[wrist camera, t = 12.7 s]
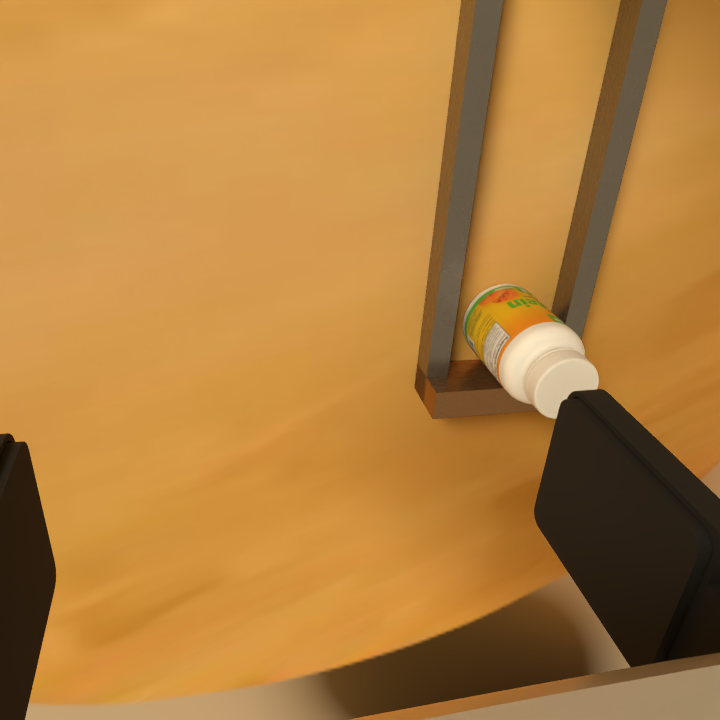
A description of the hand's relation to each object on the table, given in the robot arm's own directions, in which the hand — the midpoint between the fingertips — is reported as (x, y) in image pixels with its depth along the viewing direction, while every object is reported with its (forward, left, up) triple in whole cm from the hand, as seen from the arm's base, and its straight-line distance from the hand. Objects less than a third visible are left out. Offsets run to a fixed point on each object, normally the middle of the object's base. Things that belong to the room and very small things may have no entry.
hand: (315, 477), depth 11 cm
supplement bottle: (+11, +18, -28) cm, 35 cm away
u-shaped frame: (+3, +18, -28) cm, 34 cm away
